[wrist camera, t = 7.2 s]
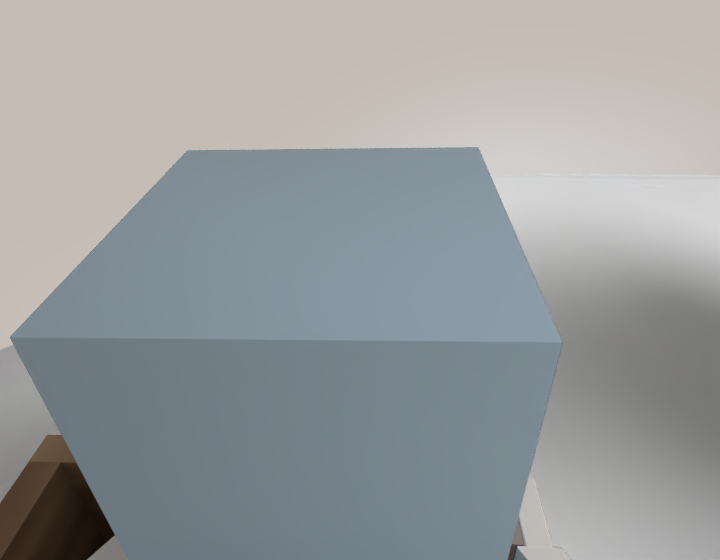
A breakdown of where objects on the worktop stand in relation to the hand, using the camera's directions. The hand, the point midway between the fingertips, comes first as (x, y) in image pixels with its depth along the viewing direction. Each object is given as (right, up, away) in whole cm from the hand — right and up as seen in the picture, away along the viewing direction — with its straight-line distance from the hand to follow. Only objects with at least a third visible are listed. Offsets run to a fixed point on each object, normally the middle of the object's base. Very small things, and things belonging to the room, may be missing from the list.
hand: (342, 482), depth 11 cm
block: (0, -9, +5) cm, 10 cm away
